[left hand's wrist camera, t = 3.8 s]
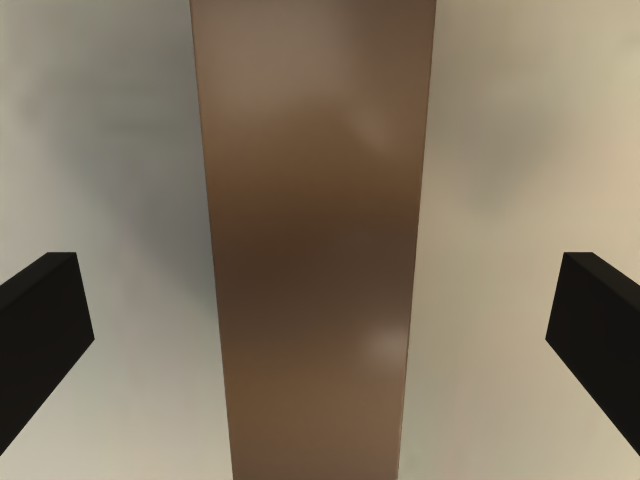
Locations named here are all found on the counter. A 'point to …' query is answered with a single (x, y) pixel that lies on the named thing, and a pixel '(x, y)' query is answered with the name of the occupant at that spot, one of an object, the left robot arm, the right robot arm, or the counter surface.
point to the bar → (314, 223)
